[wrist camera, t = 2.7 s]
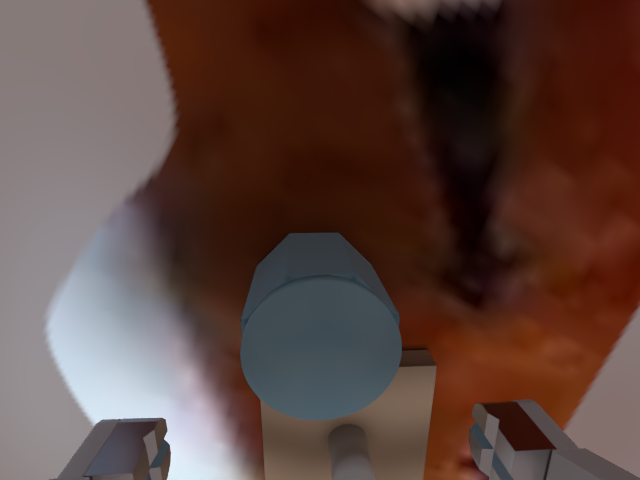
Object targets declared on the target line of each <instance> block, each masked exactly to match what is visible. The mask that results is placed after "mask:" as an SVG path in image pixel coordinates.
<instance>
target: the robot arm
mask: <svg viewBox="0 0 640 480" xmlns="http://www.w3.org/2000/svg"><path fill="white" fill-rule="evenodd" d="M472 416H473V418H474V419H475V421H476V423H475V424H474V425H473V426H472V427H471V428H470V434H469V443H470V449H471V453H472V456H473V458H474V461H475V463H476V464H477V466H478V468H479V469H480V470H481V471H482V472H484V473H485V474H486V475H488V476H489V477H490V478H489V480H640V478H639V477H637V476H635V475H633V474H631V473H629V472H628V471H626V470H624V469H622V468H620V467H618V466H617V465H615V464H613V463H611V462H609V461H607V460H606V459H604V458H602V457H600V456H598V455H596V454H594V453H592V452H591V451H589V450H587V449H579V448H578V447H577V446H576V445H575V443H574V442H572V440H571V439H570V438H569V437H568V436H567V435H566V434H565V433H564V432H563V431H562V430H561V428H560V427H559V426H558V425H557V424H556V423H555V422H554V421H553V420H552V419H551V418H550V417H549V416H548V414H547V413H546V412H545V411H544V410H543V409H542V408H541V407H540V406H539V405H538V404H537V403H536V402H535V401H533V400H531V399H527V400H513V401H500V402H482V403H476V404H475V405H474V407H473V412H472ZM166 433H167V425H166V420H165V419H163V418H134V419H110V420H101V421H100V422H98V423H97V424H96V425H95V426H94V428H93V429H92V431H91V432H90V433H89V435H88V436H87V437H86V439H85V440H84V442H83V443H82V444H81V446H80V447H79V449H78V450H77V451H76V453H75V454H74V456H73V457H72V458H71V460H70V461H69V463H68V464H67V465H66V467H65V468H64V469H63V471H62V472H61V474H60V475H59V476H58V478H57V479H50V480H166V479H167V477H168V472H169V467H170V455H171V452H170V445H169V444H168V443H167V442H166V441H165V440H164V437H165V435H166Z"/></svg>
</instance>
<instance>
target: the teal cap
mask: <svg viewBox="0 0 640 480" xmlns="http://www.w3.org/2000/svg"><path fill="white" fill-rule="evenodd" d="M399 317H400V315H399V313H398V311H397V309H396V308H395V306H394V304H393V302H392V300H391V299H390V297H389V295H388V293H387V292H386V290H385V288H384V286H383V284H382V283H381V281H380V279H379V277H378V275H377V274H376V272H375V270H374V268H373V266H372V265H371V264H370V263H369V262H368V261H367V260H366V259H365V258H364V257H363V256H362V255H361V254H360V253H359V252H358V251H357V250H356V249H355V248H354V247H353V246H352V245H351V244H350V243H349V242H348V241H347V240H346V239H345V238H344V237H343V236H342V235H341V234H340V233H339V232H338V233H289V234H288V235H287V236H286V237H285V238H284V239H283V240H282V241H281V242H280V243H279V244H278V245H277V246H276V247H275V248H274V249H273V250H272V251H271V252H270V253H269V254H268V255H267V256H266V257H265V258H264V259H263V260H262V261H261V262H260V263H259V264H258V265H257V266H256V269H255V273H254V276H253V279H252V283H251V286H250V290H249V293H248V296H247V300H246V303H245V307H244V310H243V313H242V317H241V320H240V321H241V331H242V343H241V349H240V359H241V366H242V370H243V373H244V376H245V378H246V380H247V382H248V384H249V386H250V387H251V389H252V390H253V392H254V393H255V394H256V395H257V396H258V397H259V398H260V399H261V400H262V401H263V402H264V403H266V404H267V405H268V406H270V407H271V408H273V409H274V410H276V411H278V412H281V413H283V414H285V415H288V416H291V417H295V418H299V419H305V420H330V419H336V418H340V417H344V416H347V415H350V414H353V413H355V412H357V411H359V410H361V409H363V408H365V407H366V406H368V405H369V404H371V403H372V402H374V401H375V400H376V399H377V398H378V397H379V396H380V395H382V394H383V392H384V391H385V390H386V389H387V388H388V387H389V385H390V384H391V382H392V380H393V379H394V377H395V375H396V373H397V371H398V367H399V364H400V360H401V354H402V342H401V335H400V332H399Z"/></svg>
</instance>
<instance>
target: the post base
mask: <svg viewBox="0 0 640 480" xmlns="http://www.w3.org/2000/svg"><path fill="white" fill-rule="evenodd" d="M436 369H437V365H436V363H435V361H434V360H433V358H432V356H431V355H430V353H429V351H428V350H405V351H402V354H401V360H400V364H399V367H398V371H397V373H396V375H395V377H394V379H393V380H392V382H391V384H390V385H389V387H388V388H387V389H386V390H385V391H384V392H383V394H382V395H380V396H379V397H378V398H377V399H376V400H375V401H374V402H372V403H371V404H369V405H368V406H366V407H365V408H363V409H361V410H359V411H357V412H355V413H353V414H350V415H347V416H344V417H340V418H336V419H330V420H305V419H299V418H295V417H291V416H288V415H285V414H283V413H281V412H278V411H276V410H274V409H273V408H271V407H270V406H268V405H267V404H266V403H264V402H263V401H262V400H261V399H260V400H261V417H262V434H263V452H264V469H265V480H423V474H424V466H425V458H426V450H427V442H428V434H429V426H430V418H431V410H432V402H433V393H434V385H435V377H436Z"/></svg>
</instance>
